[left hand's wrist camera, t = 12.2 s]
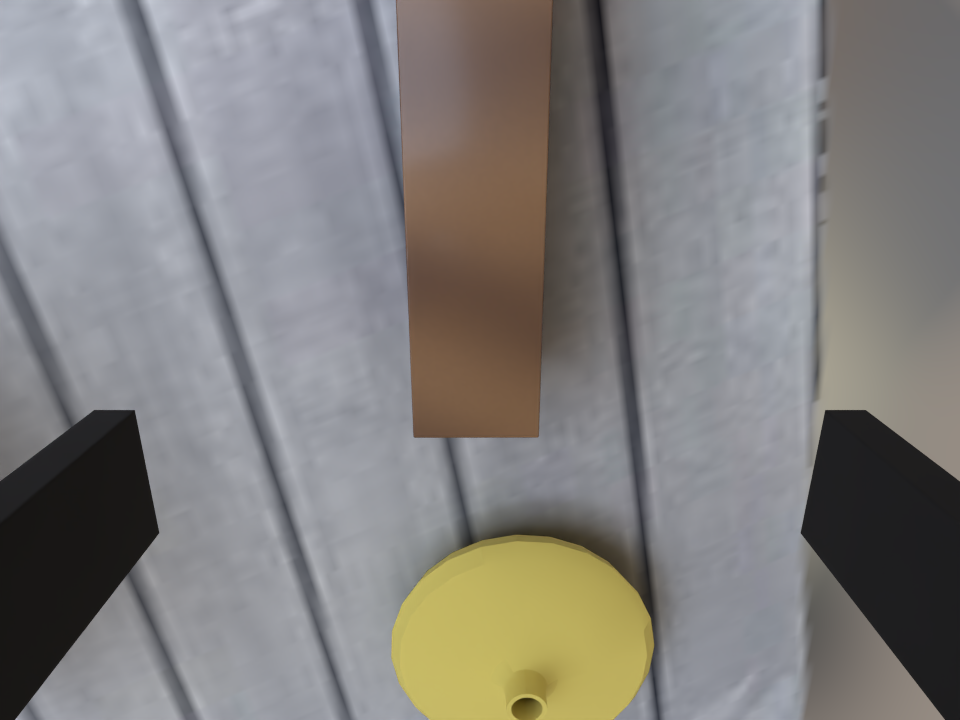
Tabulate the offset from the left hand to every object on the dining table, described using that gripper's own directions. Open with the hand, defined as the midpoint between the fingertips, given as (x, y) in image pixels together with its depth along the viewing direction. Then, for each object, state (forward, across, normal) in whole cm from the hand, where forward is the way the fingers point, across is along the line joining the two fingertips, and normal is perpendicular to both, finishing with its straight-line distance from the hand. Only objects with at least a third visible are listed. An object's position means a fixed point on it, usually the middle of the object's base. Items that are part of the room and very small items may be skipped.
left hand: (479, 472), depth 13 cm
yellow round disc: (+23, -2, +24) cm, 33 cm away
